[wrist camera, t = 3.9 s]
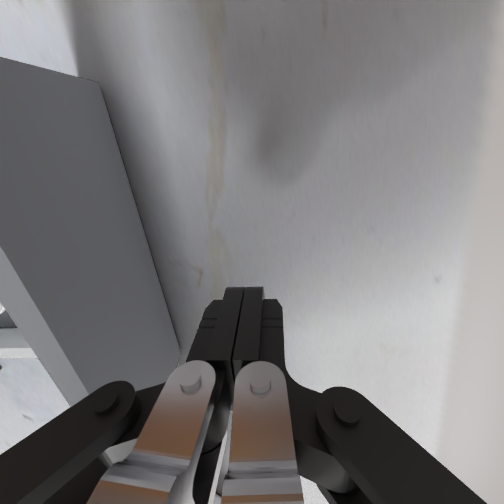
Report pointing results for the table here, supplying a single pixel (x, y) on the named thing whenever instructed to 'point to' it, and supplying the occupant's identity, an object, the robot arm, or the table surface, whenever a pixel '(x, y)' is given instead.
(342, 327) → the table surface
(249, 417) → the robot arm
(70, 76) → the white drawer
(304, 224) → the table surface
